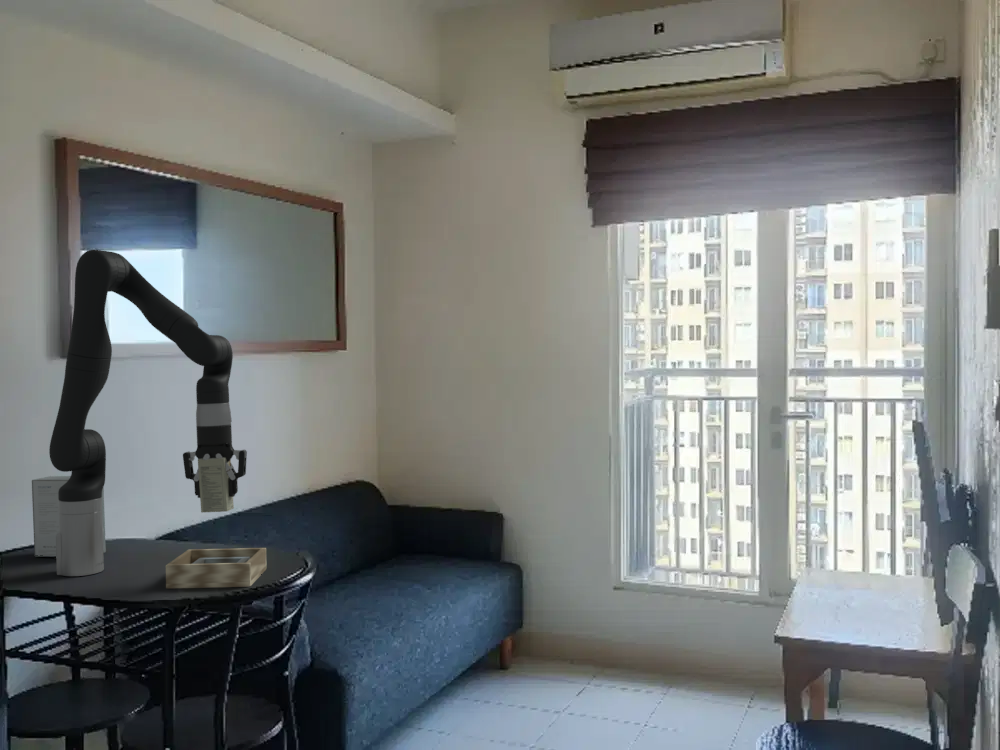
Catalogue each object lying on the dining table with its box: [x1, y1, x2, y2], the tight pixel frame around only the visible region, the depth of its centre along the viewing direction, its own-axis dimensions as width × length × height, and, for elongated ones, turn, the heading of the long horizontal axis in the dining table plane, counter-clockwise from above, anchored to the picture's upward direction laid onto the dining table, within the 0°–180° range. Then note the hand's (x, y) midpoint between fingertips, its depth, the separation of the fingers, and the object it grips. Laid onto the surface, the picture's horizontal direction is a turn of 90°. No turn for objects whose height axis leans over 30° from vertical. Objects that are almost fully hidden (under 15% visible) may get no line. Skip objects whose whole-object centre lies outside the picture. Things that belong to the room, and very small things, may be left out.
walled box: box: [165, 547, 268, 589], centre depth 206 cm, size 18×16×5 cm
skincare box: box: [197, 457, 235, 514], centre depth 206 cm, size 6×4×12 cm
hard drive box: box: [31, 475, 107, 556], centre depth 232 cm, size 16×8×20 cm, turn 81°
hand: (216, 496), depth 207 cm, fingers closed on skincare box, 6 cm apart
